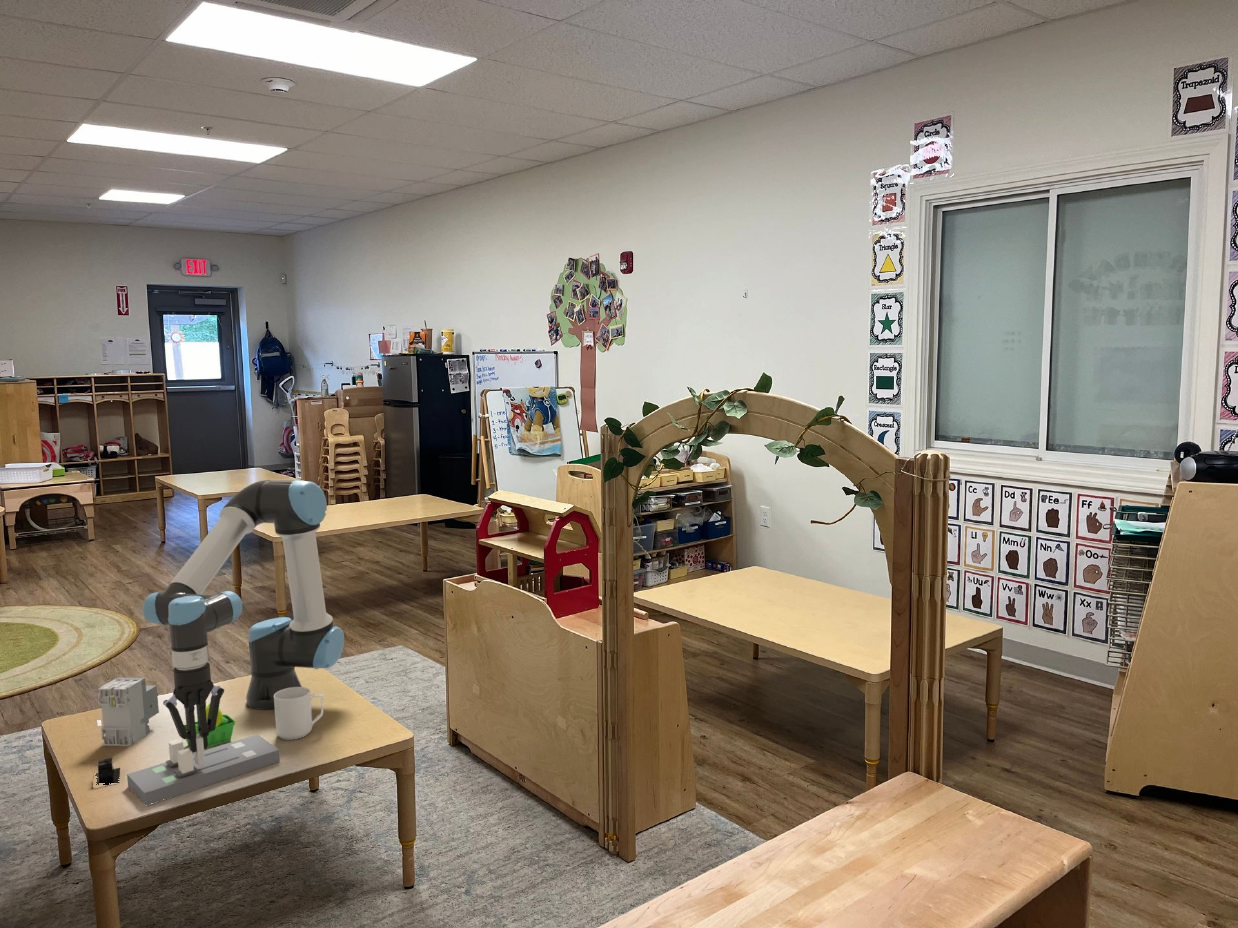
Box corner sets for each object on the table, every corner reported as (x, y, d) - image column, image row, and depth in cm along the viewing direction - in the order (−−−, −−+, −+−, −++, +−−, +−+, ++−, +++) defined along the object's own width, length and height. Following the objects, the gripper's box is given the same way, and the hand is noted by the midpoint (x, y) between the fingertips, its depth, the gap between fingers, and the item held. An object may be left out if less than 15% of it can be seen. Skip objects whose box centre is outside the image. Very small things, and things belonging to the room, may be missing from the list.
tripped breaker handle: (193, 766, 207) (191, 746, 206) (198, 771, 205) (196, 750, 204) (174, 772, 204) (173, 751, 204) (179, 777, 202) (177, 756, 201)
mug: (276, 743, 227) (274, 701, 226) (276, 730, 235) (273, 689, 234) (326, 735, 231) (323, 694, 230) (323, 722, 240) (321, 682, 238)
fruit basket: (227, 731, 235) (224, 690, 234) (239, 741, 229) (236, 699, 227) (181, 745, 228) (177, 702, 226) (192, 755, 221) (189, 712, 220)
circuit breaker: (163, 723, 242) (159, 669, 240) (130, 745, 228) (125, 689, 226) (137, 722, 242) (133, 669, 241) (102, 745, 228) (97, 688, 226)
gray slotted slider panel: (258, 745, 226) (257, 733, 226) (279, 761, 217) (279, 749, 216) (128, 786, 205) (127, 773, 205) (145, 805, 196) (144, 792, 196)
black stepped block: (91, 772, 214) (89, 754, 214) (125, 766, 217) (124, 748, 217) (87, 794, 203) (86, 775, 203) (124, 787, 206) (122, 768, 206)
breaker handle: (184, 757, 212) (182, 737, 212) (188, 761, 210) (187, 741, 209) (166, 762, 210) (164, 742, 209) (170, 767, 207) (168, 746, 207)
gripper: (166, 676, 196) (175, 778, 199) (226, 661, 205) (234, 759, 208) (155, 668, 202) (164, 767, 205) (214, 654, 211) (222, 749, 214)
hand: (200, 763), depth 206 cm, fingers closed
